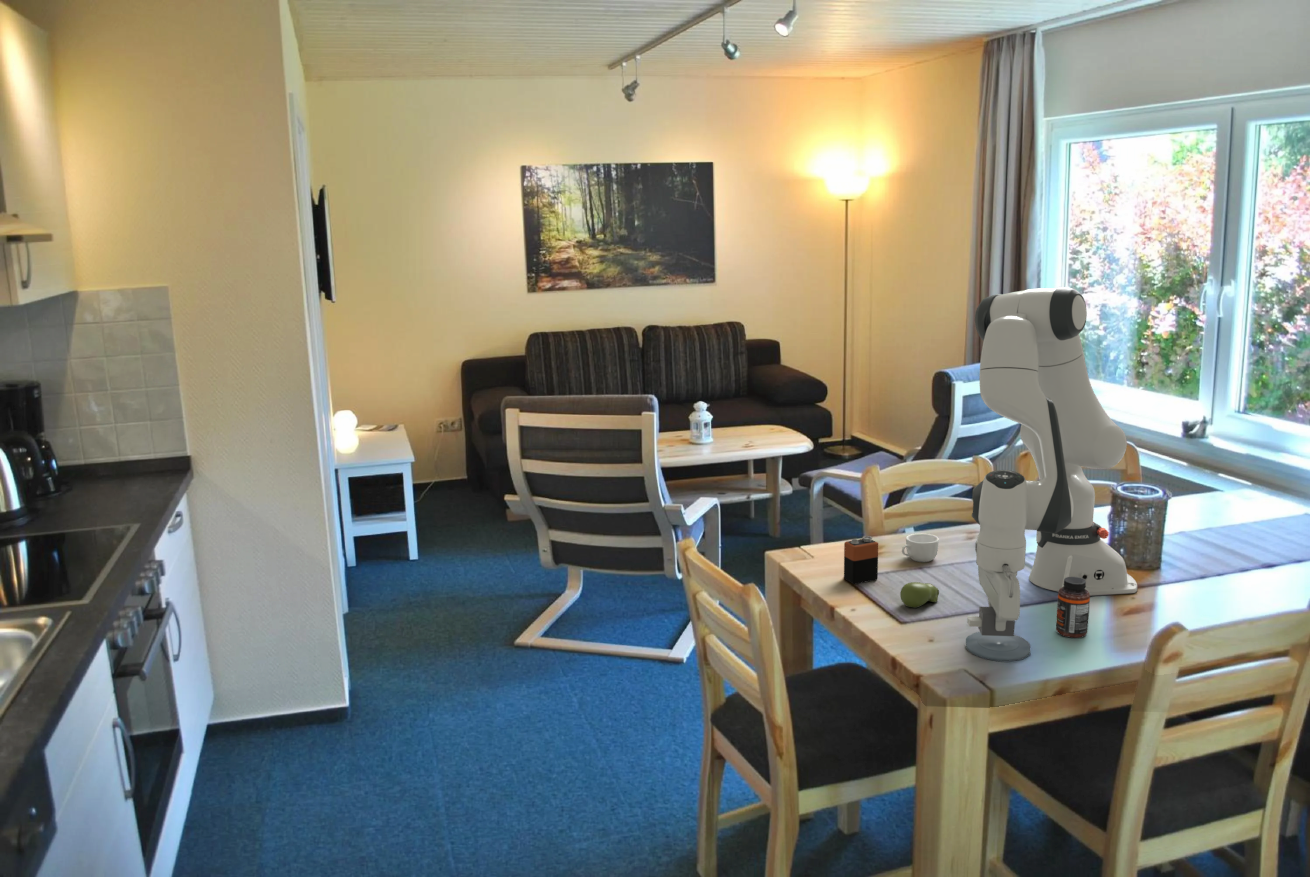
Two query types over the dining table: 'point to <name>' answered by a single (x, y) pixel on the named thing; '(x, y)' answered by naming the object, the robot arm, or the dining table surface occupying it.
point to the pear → (918, 594)
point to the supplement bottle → (1073, 608)
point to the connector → (989, 623)
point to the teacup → (921, 547)
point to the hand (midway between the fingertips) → (996, 624)
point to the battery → (861, 560)
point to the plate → (998, 647)
